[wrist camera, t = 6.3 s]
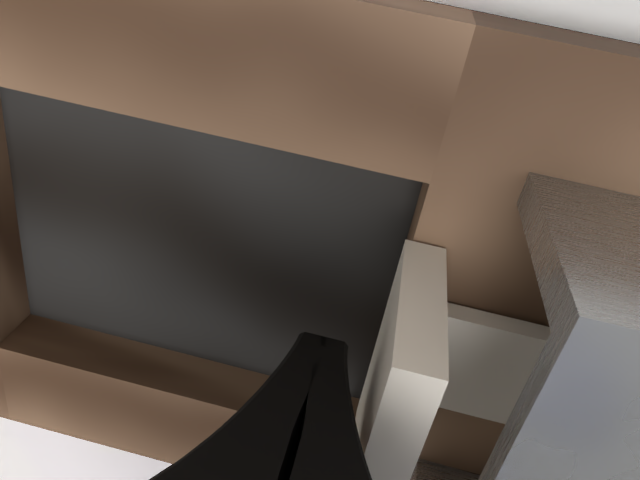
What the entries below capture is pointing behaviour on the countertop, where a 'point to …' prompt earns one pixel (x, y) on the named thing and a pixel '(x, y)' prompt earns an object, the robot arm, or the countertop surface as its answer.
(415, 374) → the slider
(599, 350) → the tunnel
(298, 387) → the robot arm
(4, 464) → the countertop surface
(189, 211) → the deck
